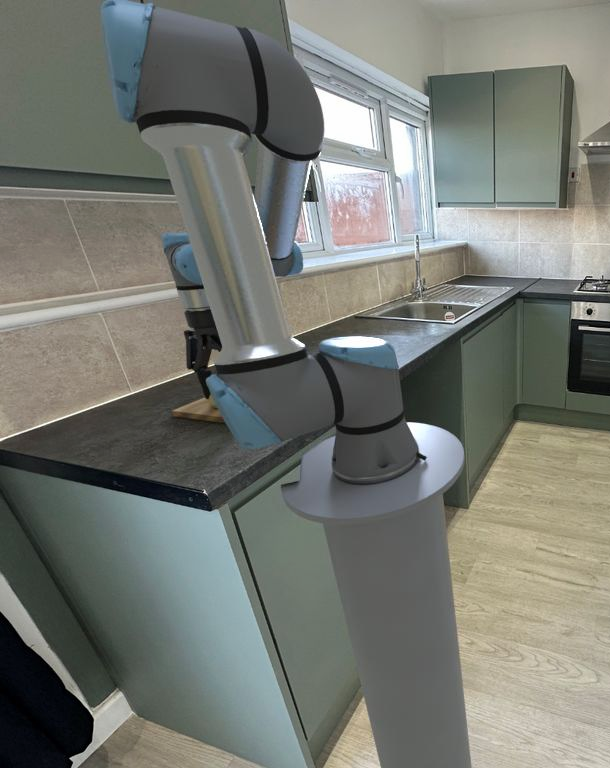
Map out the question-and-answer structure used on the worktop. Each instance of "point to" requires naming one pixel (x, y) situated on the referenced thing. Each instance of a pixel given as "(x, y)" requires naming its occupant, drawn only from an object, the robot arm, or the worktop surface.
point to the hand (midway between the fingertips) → (231, 399)
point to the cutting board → (199, 411)
